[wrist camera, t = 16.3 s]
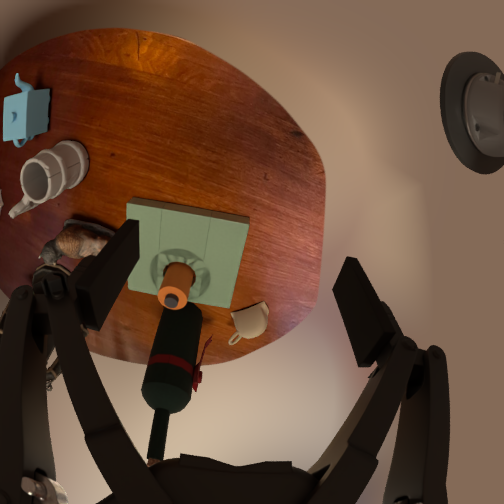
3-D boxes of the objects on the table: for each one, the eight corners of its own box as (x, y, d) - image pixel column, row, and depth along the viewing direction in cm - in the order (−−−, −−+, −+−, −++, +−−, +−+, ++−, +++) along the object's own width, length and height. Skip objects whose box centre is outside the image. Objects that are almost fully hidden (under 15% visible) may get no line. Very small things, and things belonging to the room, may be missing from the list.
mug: (99, 162, 34) (53, 188, 24) (62, 208, 38) (21, 242, 28) (72, 128, 31) (22, 145, 21) (38, 178, 35) (-6, 205, 24)
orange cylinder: (196, 258, 44) (187, 294, 36) (193, 280, 46) (184, 316, 38) (170, 253, 43) (155, 288, 35) (168, 275, 45) (155, 311, 37)
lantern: (102, 283, 46) (34, 419, 20) (99, 332, 53) (55, 445, 27) (26, 246, 41) (-57, 348, 16) (32, 298, 49) (-25, 392, 23)
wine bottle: (212, 333, 53) (200, 479, 27) (163, 324, 51) (129, 466, 26) (217, 305, 49) (203, 470, 23) (162, 295, 47) (118, 453, 22)
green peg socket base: (249, 217, 40) (249, 224, 38) (229, 299, 48) (229, 309, 46) (132, 197, 38) (126, 202, 36) (132, 281, 46) (128, 289, 44)
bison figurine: (128, 226, 40) (102, 260, 32) (124, 261, 44) (102, 298, 35) (69, 208, 38) (35, 237, 29) (69, 243, 41) (40, 275, 33)
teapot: (31, 75, 25) (1, 77, 18) (55, 69, 25) (25, 69, 19) (27, 141, 31) (-1, 152, 24) (50, 139, 31) (21, 150, 25)
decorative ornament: (272, 315, 50) (275, 336, 46) (232, 327, 52) (232, 348, 47) (264, 300, 48) (266, 321, 44) (223, 314, 50) (221, 335, 45)
